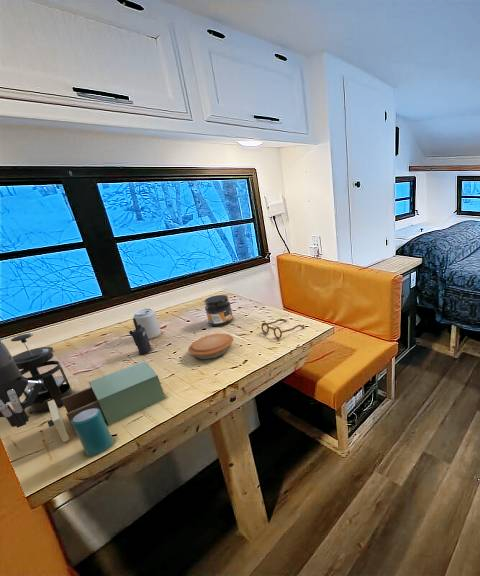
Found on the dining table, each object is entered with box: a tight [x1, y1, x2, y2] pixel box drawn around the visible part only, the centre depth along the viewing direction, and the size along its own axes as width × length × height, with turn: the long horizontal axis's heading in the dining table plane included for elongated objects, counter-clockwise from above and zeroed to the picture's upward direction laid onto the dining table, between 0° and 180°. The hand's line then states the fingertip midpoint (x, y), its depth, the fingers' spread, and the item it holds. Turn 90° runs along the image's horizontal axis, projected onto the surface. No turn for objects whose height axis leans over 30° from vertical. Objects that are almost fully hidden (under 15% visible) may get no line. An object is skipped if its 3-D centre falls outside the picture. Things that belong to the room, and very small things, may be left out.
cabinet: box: [88, 360, 166, 426], centre depth 91 cm, size 14×13×9 cm
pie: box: [187, 333, 234, 360], centre depth 118 cm, size 16×16×5 cm
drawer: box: [47, 386, 106, 443], centre depth 84 cm, size 14×11×7 cm
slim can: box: [70, 408, 114, 457], centre depth 75 cm, size 5×5×10 cm
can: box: [132, 307, 162, 340], centre depth 130 cm, size 8×8×12 cm
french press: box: [10, 333, 75, 414], centre depth 89 cm, size 12×9×23 cm
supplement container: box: [204, 294, 234, 327], centre depth 141 cm, size 10×10×12 cm
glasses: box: [261, 318, 305, 340], centre depth 133 cm, size 13×13×5 cm
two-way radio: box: [128, 317, 152, 355], centre depth 117 cm, size 6×4×15 cm
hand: (21, 424), depth 75 cm, fingers closed
